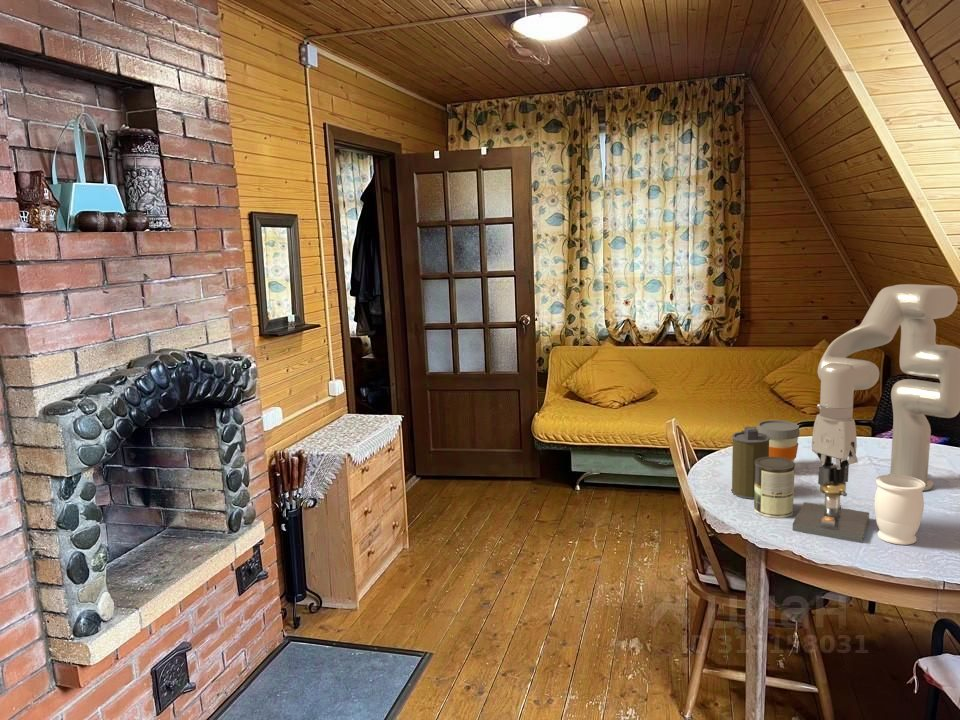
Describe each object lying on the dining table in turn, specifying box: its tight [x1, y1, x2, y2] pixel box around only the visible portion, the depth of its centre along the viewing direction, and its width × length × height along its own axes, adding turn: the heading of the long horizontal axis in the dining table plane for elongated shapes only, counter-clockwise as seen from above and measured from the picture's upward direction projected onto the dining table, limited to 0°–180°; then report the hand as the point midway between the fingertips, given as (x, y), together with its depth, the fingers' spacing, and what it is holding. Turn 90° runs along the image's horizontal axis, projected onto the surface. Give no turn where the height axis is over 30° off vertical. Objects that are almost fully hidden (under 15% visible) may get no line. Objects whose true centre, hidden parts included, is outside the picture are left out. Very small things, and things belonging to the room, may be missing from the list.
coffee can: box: [753, 457, 796, 519], centre depth 199 cm, size 10×10×14 cm
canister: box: [730, 425, 770, 500], centre depth 212 cm, size 11×10×20 cm
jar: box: [873, 474, 925, 546], centre depth 179 cm, size 11×10×15 cm
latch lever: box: [817, 464, 850, 497], centre depth 187 cm, size 9×8×7 cm
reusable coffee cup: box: [756, 419, 800, 463], centre depth 230 cm, size 13×13×15 cm
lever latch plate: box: [792, 494, 870, 544], centre depth 188 cm, size 16×16×9 cm
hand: (833, 480), depth 187 cm, fingers closed on latch lever, 2 cm apart
